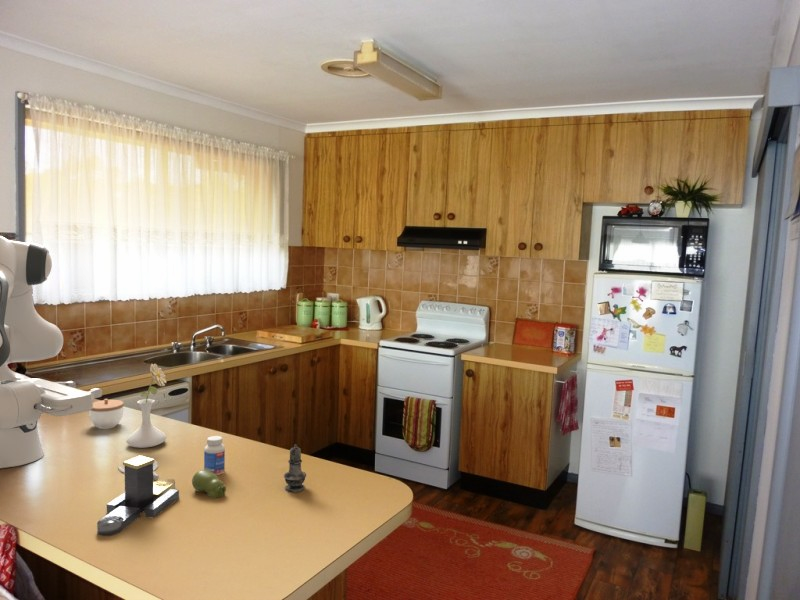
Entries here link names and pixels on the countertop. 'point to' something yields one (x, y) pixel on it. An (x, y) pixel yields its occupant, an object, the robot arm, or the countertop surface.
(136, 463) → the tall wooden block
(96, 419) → the lidded jar
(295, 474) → the salt shaker
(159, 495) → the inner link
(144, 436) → the flower in vase
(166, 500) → the grey metal bars
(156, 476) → the pliers
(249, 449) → the countertop surface
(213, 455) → the pill bottle
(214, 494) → the pear
